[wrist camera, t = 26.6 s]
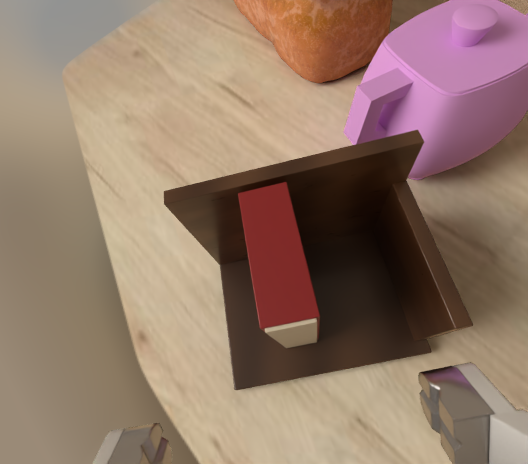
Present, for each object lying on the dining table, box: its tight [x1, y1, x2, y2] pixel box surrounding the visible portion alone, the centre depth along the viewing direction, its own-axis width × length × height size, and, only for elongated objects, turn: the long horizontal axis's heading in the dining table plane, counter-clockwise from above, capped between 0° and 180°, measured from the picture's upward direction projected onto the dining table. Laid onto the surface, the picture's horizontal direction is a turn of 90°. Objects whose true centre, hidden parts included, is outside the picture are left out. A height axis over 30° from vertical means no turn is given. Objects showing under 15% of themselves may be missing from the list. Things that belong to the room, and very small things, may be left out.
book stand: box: [164, 130, 473, 390], centre depth 22 cm, size 16×12×13 cm
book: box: [238, 182, 320, 348], centre depth 22 cm, size 3×8×12 cm, turn 10°
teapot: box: [344, 0, 528, 180], centre depth 27 cm, size 20×12×13 cm, turn 117°
